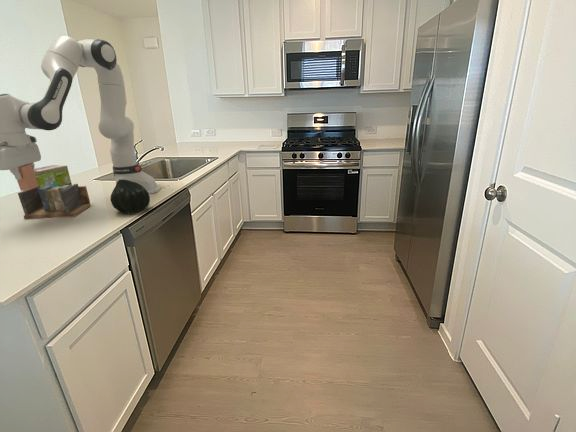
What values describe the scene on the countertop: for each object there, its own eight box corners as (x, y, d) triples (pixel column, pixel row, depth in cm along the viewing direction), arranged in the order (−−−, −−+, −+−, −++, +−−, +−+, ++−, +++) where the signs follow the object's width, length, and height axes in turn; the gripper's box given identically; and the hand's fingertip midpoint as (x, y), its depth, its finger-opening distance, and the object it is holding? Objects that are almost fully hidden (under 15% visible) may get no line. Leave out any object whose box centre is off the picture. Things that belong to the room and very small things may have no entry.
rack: (91, 205, 145) (84, 181, 141) (75, 216, 132) (68, 190, 128) (44, 208, 143) (37, 184, 139) (24, 219, 130) (15, 192, 126)
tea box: (49, 200, 156) (40, 170, 151) (33, 199, 158) (23, 170, 153) (74, 191, 170) (67, 164, 164) (59, 191, 172) (51, 164, 166)
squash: (157, 199, 135) (141, 170, 137) (122, 209, 125) (105, 178, 126) (150, 214, 145) (134, 187, 147) (117, 224, 135) (101, 196, 136)
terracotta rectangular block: (38, 186, 126) (31, 163, 123) (29, 190, 120) (21, 167, 117) (30, 186, 126) (22, 164, 122) (20, 190, 120) (12, 167, 117)
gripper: (2, 143, 107) (17, 182, 112) (38, 137, 126) (49, 170, 131) (-18, 145, 106) (-3, 184, 111) (21, 138, 125) (33, 172, 130)
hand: (26, 176), depth 121 cm, fingers closed on terracotta rectangular block, 6 cm apart
